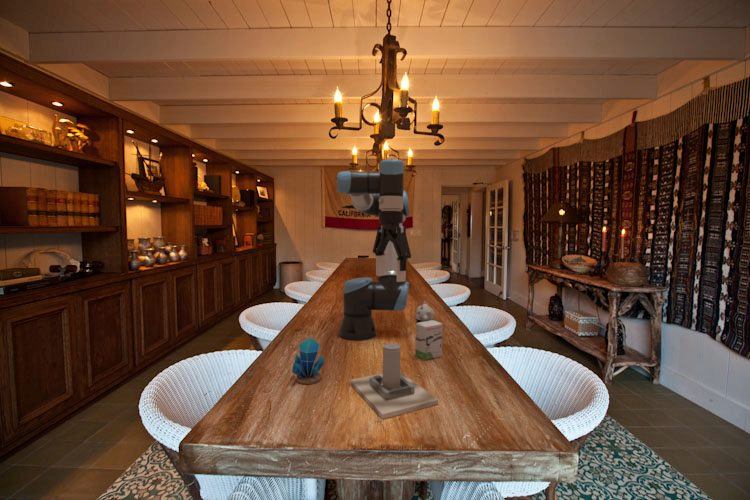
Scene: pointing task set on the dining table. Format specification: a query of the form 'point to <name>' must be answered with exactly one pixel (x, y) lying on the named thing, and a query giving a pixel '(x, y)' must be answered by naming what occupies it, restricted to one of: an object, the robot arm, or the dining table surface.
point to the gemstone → (308, 363)
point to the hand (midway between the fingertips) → (390, 278)
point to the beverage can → (391, 366)
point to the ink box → (428, 340)
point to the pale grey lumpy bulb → (424, 312)
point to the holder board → (392, 395)
